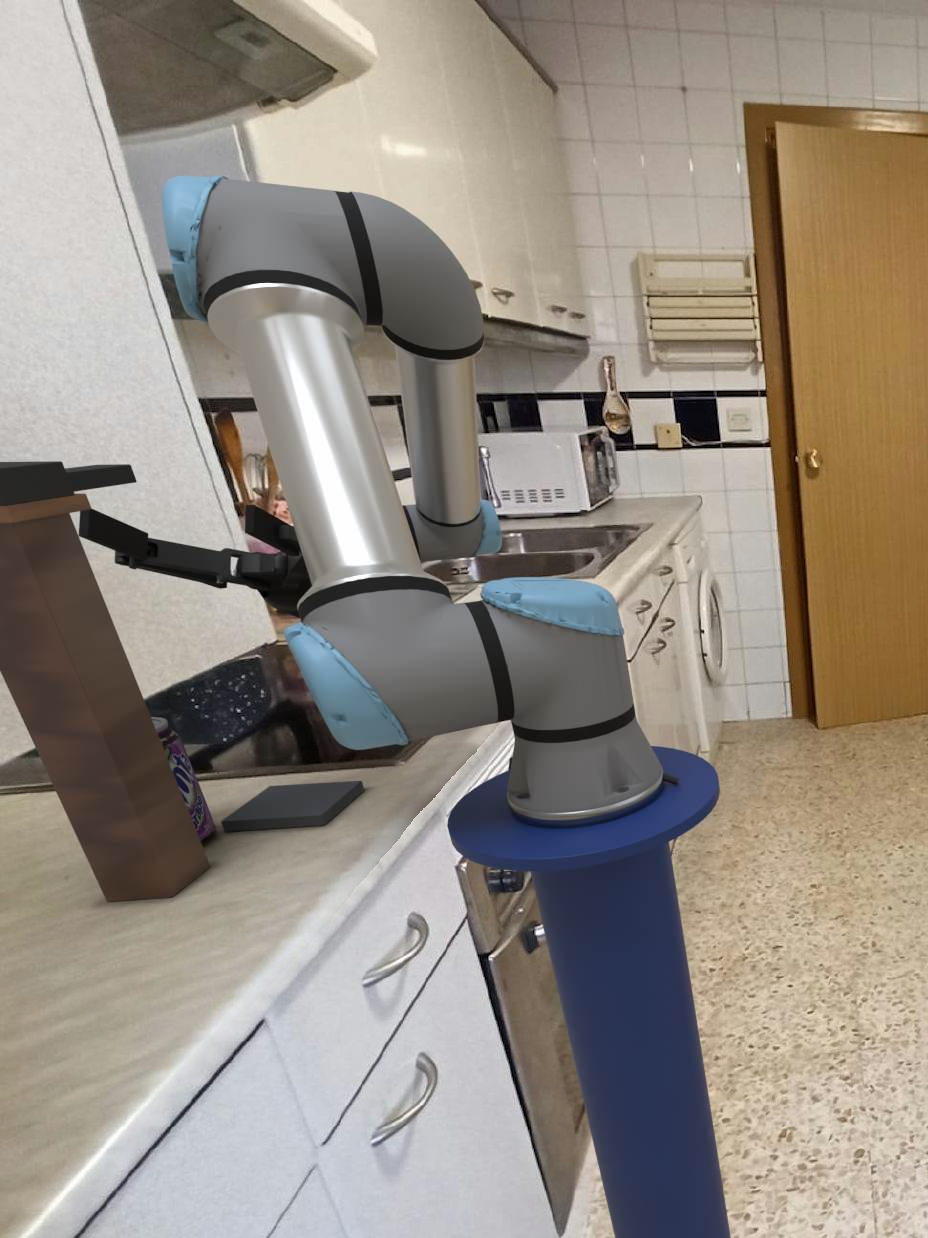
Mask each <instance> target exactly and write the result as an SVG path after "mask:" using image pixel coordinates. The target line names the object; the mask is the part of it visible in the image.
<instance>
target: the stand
mask: <svg viewBox="0 0 928 1238" xmlns="http://www.w3.org/2000/svg"><path fill="white" fill-rule="evenodd" d="M90 509H93V508H92V506H91V503H90V500H89V498H88V495H87V493H75V495H72V496H66V497H59V498H53V499H46V500H40V501H33V502H27V503H20V504H14V505H7V506H0V674H1V676H2V678H3V681H4V682H5V684H6V687H7V689H8V691H9V693H10V695H11V697H12V699H13V702H14V704H15V706H16V708H17V711H18V712H19V716H20V718H21V719H22V721H23V724H24V726H25V728H26V731H27V733H28V734H29V736H30V739H31V741H32V744H33V745H34V747H35V749H36V752H37V754H38V756H39V758H40V760H41V762H42V765H43V767H44V769H45V771H46V774H47V776H48V777H49V780H50V782H51V785H52V786H53V788H54V791H55V793H56V795H57V797H58V799H59V801H60V804H61V805H62V808H63V810H64V812H65V814H66V817H67V819H68V821H69V823H70V825H71V827H72V829H73V832H74V834H75V837H76V838H77V840H78V842H79V845H80V847H81V849H82V851H83V853H84V856H85V857H86V859H87V862H88V864H89V866H90V868H91V870H92V872H93V875H94V878H95V879H96V881H97V884H98V886H99V888H100V890H101V892H102V894H103V896H104V899H105V901H106V902H107V903H109V902H110V903H111V902H112V903H113V902H125V901H138V900H152V899H153V900H154V899H165V898H166V899H167V898H173V897H174V896H176V895H177V894H178V893H179V892H181V891H182V890H184V888H185V887H187V886H189V884H191V883H192V882H193V881H195V880H196V879H197V878H199V876H201V875H203V874H204V873H205V872H206V871H207V870H209V869H210V868H211V866H212V865H211V864H210V861H209V859H208V857H207V853H206V851H205V849H204V847H203V844H202V840H201V841H200V839H199V836H198V834H197V831H196V829H195V826H194V824H193V821H192V819H191V816H190V814H189V811H188V809H187V806H186V804H185V801H184V799H183V796H182V794H181V791H180V789H179V786H178V784H177V781H176V779H175V776H174V774H173V771H172V769H171V766H170V764H169V761H168V759H167V756H166V754H165V751H164V749H163V746H162V744H161V741H160V739H159V736H158V734H157V731H156V729H155V726H154V724H153V721H152V719H151V717H152V716H151V713H150V711H149V708H148V706H147V704H146V701H145V698H144V696H143V694H142V691H141V689H140V687H139V684H138V681H137V680H136V676H135V674H134V672H133V669H132V666H131V664H130V661H129V658H128V657H127V653H126V651H125V649H124V646H123V644H122V641H121V638H120V636H119V633H118V632H117V628H116V626H115V624H114V621H113V618H112V616H111V614H110V611H109V607H108V605H107V604H106V601H105V599H104V596H103V594H102V591H101V589H100V587H99V586H100V585H99V584H98V581H97V578H96V576H95V574H94V571H93V568H92V567H91V564H90V561H89V558H88V555H87V553H86V551H85V549H84V546H83V543H82V541H81V537H80V536H79V532H78V530H77V529H76V526H75V524H74V521H73V519H72V516H71V514H73V513H77V512H80V511H84V510H90Z"/></svg>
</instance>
